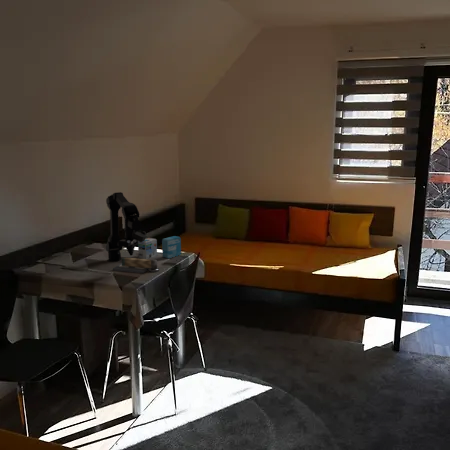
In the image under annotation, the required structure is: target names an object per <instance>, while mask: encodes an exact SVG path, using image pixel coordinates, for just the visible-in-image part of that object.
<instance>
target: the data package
mask: <svg viewBox="0 0 450 450" xmlns="http://www.w3.org/2000/svg"><path fill="white" fill-rule="evenodd" d="M181 242H182V238H181V237H180V236H178V235H177V236H176V235H173V236H169V237H166V238H162V239H161V243H162V244H161V247H162V248H161V249H162V258H166V259H173V258H176V257H179V256H181V254H182V243H181ZM178 255H179V256H178ZM175 256H176V257H175ZM172 257H173V258H172Z"/></svg>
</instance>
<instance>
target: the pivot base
mask: <svg viewBox="0 0 450 450" xmlns="http://www.w3.org/2000/svg"><path fill="white" fill-rule="evenodd" d="M148 272H150V273H157V272H160V267H157V269H151V268H149V270H148Z"/></svg>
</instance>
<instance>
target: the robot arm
mask: <svg viewBox="0 0 450 450" xmlns="http://www.w3.org/2000/svg"><path fill="white" fill-rule="evenodd" d="M105 202H106V207H107V208H108V209H109V214H110V215H109V219H110V220H109V221H110V222H109V224H110V234H109V236H108V237H107V242H106V245H105V251H106V252H107V253H108V254H107V255H108V256H107V257H108V259H107V262H116V263H117V262H119V261H122V258H123V257H122V253H121V251H122V250H123V247H125V249H126V250H127V252H128V254H129V256H133V255H134V251H135V247H136V245H138V241H139V242H143V241H145V239H147V238H148V237H147V236H148V235H147V232H146V231H144V230H143V231H142V232H140V230H142V228H143V223H142V222H141V221H140V220H139V219H140V212H139V210H138V206H136V204H135V203H133V202H131V201H129V200H128V199H127V198H126V197H125V195H124V194H123V192H121V191H118V192H113V193H112V194H111V195H109V196H107V198H106V200H105ZM120 210H121V213H122V216H123V219H124V229H123V233H124V237H123V239H122V238H121V237H120V233H119V231H120V230H119V211H120Z"/></svg>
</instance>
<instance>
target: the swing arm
mask: <svg viewBox="0 0 450 450" xmlns="http://www.w3.org/2000/svg"><path fill="white" fill-rule="evenodd" d="M121 258H122V259H121V263H122V266H133V267H144V268H151V269H157V268H158V260H157V259H156V258H155V259H150V258H149V259H142V258H138V257H137V258H136V257H121Z"/></svg>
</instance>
